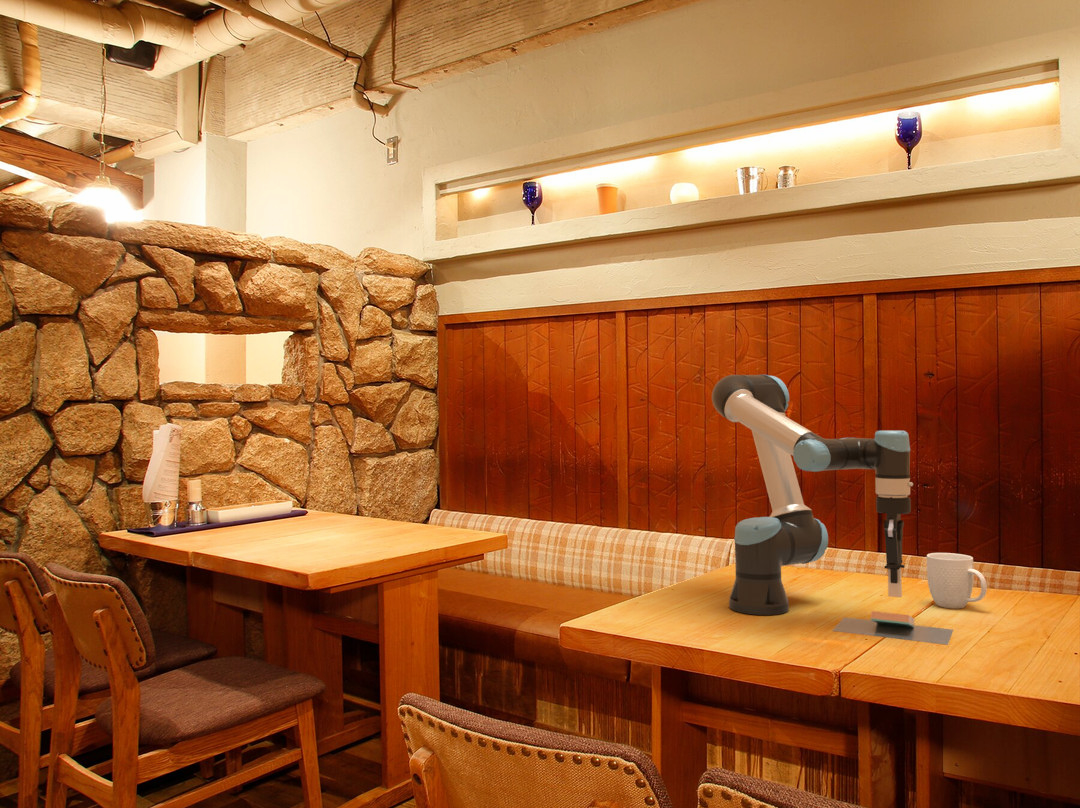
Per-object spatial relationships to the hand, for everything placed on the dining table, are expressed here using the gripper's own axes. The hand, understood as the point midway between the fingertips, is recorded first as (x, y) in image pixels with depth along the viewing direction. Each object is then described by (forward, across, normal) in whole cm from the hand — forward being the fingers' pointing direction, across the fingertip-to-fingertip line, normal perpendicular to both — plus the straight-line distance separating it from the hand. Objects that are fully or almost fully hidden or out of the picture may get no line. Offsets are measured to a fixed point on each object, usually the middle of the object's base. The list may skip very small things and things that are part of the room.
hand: (895, 596), depth 192 cm
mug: (+8, +32, -10) cm, 34 cm away
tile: (+6, 0, 0) cm, 6 cm away
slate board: (+8, -4, 0) cm, 9 cm away
